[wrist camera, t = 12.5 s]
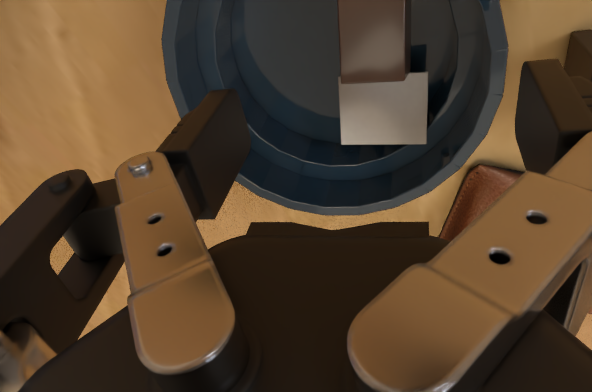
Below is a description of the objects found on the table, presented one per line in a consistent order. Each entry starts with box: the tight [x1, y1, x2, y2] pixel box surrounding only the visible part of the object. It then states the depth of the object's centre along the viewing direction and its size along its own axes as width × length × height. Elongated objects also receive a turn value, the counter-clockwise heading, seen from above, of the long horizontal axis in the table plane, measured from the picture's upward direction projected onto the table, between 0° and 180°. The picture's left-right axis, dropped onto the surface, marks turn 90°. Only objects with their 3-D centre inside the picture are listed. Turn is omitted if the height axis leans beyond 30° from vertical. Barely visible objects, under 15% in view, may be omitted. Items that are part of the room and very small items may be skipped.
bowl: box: [162, 0, 508, 215], centre depth 21 cm, size 14×14×6 cm
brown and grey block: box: [337, 0, 428, 145], centre depth 19 cm, size 8×4×4 cm, turn 8°
